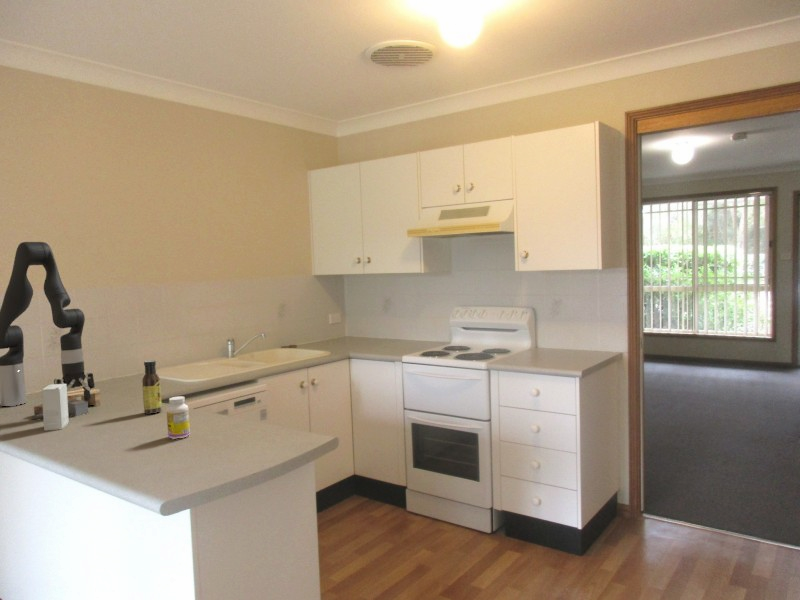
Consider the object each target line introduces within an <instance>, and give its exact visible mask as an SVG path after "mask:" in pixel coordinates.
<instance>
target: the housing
mask: <svg viewBox="0 0 800 600" xmlns="http://www.w3.org/2000/svg"><path fill="white" fill-rule="evenodd" d="M87 413H88V414H89V405H88V401H82V400H80V399H76V400H71V401H68V416H69V415H72V416H71V417H75V416H77V417H80V416H79V415H81V416H84V415H83V414H85V415H88V414H87Z"/></svg>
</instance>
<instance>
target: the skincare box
mask: <svg viewBox="0 0 800 600" xmlns="http://www.w3.org/2000/svg"><path fill="white" fill-rule="evenodd" d="M41 394H42V395H41V396H42V404H43V418H44V419H43V430H44V431H56V430H58V429H59V430H63V429H64V428H65V427H66V426H67V425H68V424H69V415H68V400H67V384H64V383H62V384H54V383H53V384H48V385H47V386H46V387H45V386H44V388H42V390H41Z"/></svg>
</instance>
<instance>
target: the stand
mask: <svg viewBox="0 0 800 600" xmlns="http://www.w3.org/2000/svg"><path fill="white" fill-rule="evenodd" d="M84 391H85V390H84V389H83V388H82V387H81V388H79V389H74V390H69V391H68V392H67V400H68V401H71V400H77V398H78V397H80V399H81V400H82V401H86V400H84ZM100 395H101V389H96V388H92V389H90V398H89V400H87V401H88V406H90V405H94V406H93V407H98V406H97V405H100V406H101V396H100Z"/></svg>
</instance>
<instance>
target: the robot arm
mask: <svg viewBox="0 0 800 600" xmlns="http://www.w3.org/2000/svg"><path fill="white" fill-rule="evenodd" d="M12 266H13V267H12V271H11V275H10V278H9V281H8V285H7V287H6V289H5V293H4V296H3V300H2V304H1V306H0V350H4V349H8V351H7V352H6V353H4V354H3V355H2V356H0V405H1V406H0V407H2V406H10V407H16V405H17V406H20V404H22V405H24V403H25V404H26V403H27V395H26V394H27V391H26V381H25V380H26V379H25V369H24V368H25V367H24V355H25V352H24V351H25V350H24V349H25V348H24V345H25V343H24V342H25V341H24V333H23V330H22V327H21V326H19V325H12V324H13V323H14V322H15V320H16V319H18V318H19V317H20V316H21V315H22V314H23V313H25V312H26V310H28V309H29V307H30V304H31V302H32V299H33V297H34V296H33V295H34V289H33V285H32V284H31V282H30V281H29V279H28V275H27V273H28V269H29V268H30V266H43V268H44V270H45V280H44V282H43V292H44V295H45V297H46V299H47V301H48V303H49V305H50V309H51V315H52V321H53V325H54V326H56V327H57V328H58V329H68V328H70V329H69V331H68V332H67V333H65V334H63V335H61V336H60V339H59V341H60V342H59V343H60V360H61V361H60V364H61V373H62V378H55V379H54V380H53V384H67V392H68V391H71V389H74V388H77V387H80V388H81V389H82V388H83V389H84V390H85V391H84V400H86V401H87V400H89V398H90V389H95V381H94V374H93V372H87V373H85V360H84V352H83V346H82V337H83V336H82V335H83V331H84V326H85V321H86V320H85V318H86V317H85V314H84V312H83V311H82V310H81V309H79V308H70V309H68V308H67V307H68V306H70V305H71V301H72V300H71V298H70V295H69V294H68V291H67V290H66V287H65V286H64V284H63V281H62V279H61V275H60V273H59V269H58V265H57V262H56V259H55V255H54V253H53V250H52V248H51V245H49V244H48V243H46V242H45V241H22V242H20V243H19V244H18V246H17V248H16V251H15V255H14V261H13V265H12ZM64 308H66V309H64ZM85 379H86V381H87V383H86V382H85Z"/></svg>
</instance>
